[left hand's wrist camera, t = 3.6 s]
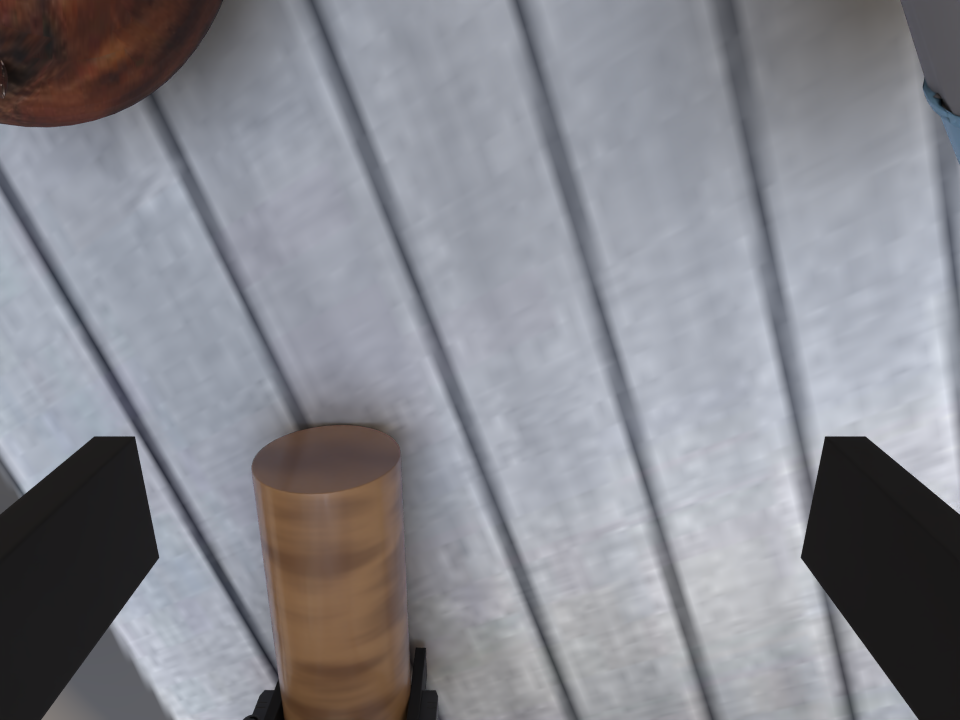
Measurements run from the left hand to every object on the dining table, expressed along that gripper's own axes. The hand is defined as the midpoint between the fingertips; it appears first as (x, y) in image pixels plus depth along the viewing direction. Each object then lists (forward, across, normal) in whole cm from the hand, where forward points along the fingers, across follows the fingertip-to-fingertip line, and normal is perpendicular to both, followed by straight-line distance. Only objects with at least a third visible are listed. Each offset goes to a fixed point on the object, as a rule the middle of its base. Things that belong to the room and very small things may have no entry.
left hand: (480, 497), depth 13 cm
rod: (+29, -9, -24) cm, 39 cm away
